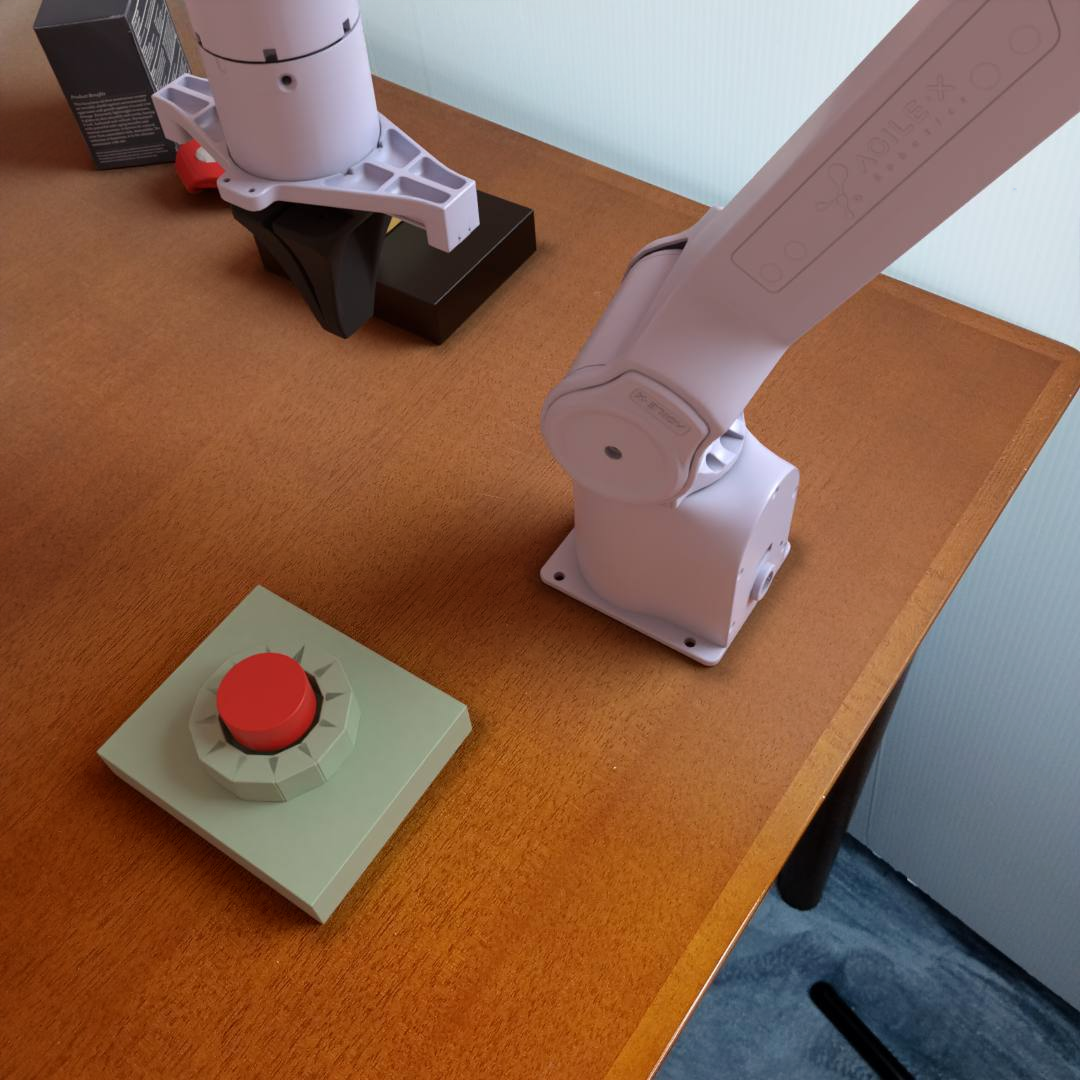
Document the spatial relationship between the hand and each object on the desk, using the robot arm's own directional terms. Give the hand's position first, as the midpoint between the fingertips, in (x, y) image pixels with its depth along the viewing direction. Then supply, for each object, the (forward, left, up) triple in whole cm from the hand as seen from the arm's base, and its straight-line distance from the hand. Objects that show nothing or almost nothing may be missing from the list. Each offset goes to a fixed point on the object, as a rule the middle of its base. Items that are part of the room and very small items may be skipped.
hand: (348, 321), depth 48 cm
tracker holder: (+26, -18, -11) cm, 33 cm away
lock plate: (+11, -14, -10) cm, 21 cm away
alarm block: (-6, +15, -10) cm, 19 cm away
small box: (+37, -17, -11) cm, 42 cm away
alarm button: (-6, +15, -7) cm, 17 cm away
